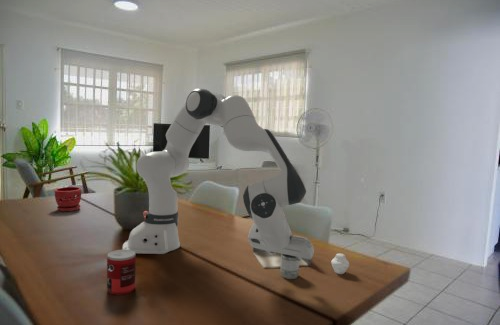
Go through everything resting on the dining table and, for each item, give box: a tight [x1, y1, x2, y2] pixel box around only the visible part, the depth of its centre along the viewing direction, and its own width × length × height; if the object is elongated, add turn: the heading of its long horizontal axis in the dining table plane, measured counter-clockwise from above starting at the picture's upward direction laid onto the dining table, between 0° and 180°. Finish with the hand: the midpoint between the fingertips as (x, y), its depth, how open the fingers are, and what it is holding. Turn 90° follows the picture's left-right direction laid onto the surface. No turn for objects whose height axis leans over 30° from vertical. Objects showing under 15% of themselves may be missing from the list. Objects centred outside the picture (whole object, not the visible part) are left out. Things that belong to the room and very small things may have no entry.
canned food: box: [106, 248, 137, 296], centre depth 103 cm, size 8×8×11 cm
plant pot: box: [54, 186, 82, 212], centre depth 194 cm, size 13×13×12 cm
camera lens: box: [279, 254, 300, 280], centre depth 119 cm, size 6×6×8 cm
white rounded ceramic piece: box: [330, 253, 350, 275], centre depth 123 cm, size 6×6×7 cm
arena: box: [252, 234, 312, 270], centre depth 134 cm, size 18×16×7 cm
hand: (285, 255), depth 114 cm, fingers open, 8 cm apart
